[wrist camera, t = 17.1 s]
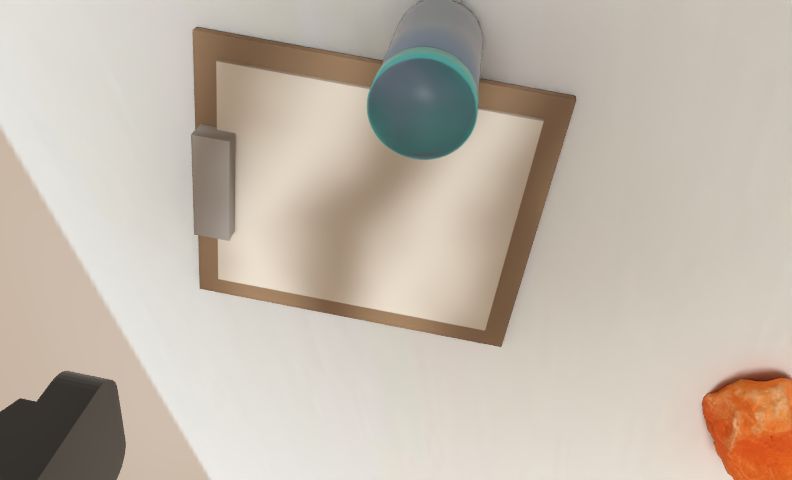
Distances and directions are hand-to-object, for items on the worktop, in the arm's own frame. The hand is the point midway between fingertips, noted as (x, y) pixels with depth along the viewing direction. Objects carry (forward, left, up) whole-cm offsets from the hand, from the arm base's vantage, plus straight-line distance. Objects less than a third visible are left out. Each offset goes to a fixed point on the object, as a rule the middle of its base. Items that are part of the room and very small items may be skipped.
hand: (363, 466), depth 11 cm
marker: (0, 0, -20) cm, 20 cm away
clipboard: (+2, +8, -20) cm, 21 cm away
